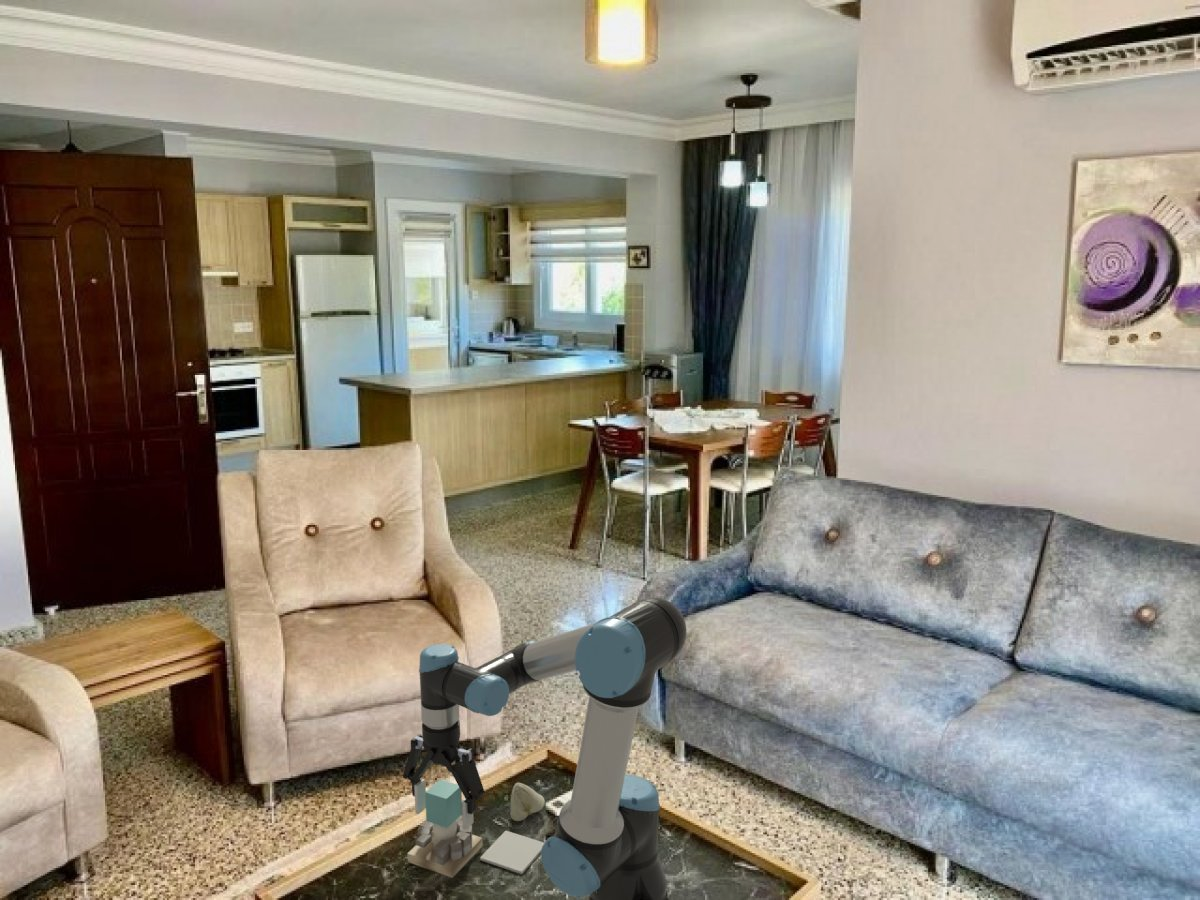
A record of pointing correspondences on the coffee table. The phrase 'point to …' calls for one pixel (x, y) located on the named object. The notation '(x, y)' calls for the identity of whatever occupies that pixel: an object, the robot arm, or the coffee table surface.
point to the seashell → (524, 802)
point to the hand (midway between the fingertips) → (444, 818)
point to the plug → (443, 809)
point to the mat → (513, 852)
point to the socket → (444, 849)
